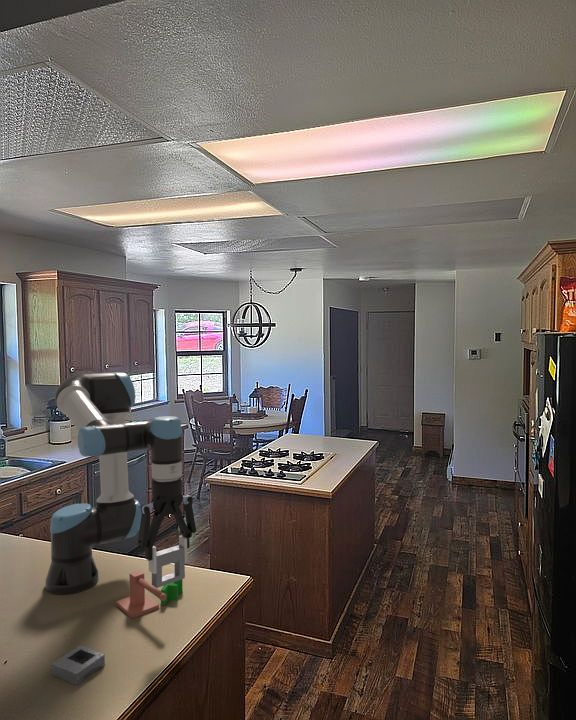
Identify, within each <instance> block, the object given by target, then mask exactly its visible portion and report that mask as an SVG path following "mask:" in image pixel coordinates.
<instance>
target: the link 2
mask: <svg viewBox="0 0 576 720" xmlns="http://www.w3.org/2000/svg"><path fill="white" fill-rule="evenodd" d="M156 562H157V573H156V574H153V573H152V572H151V585H152V586H154V587H155V588H157V589H158V588H162V587H163V586H164V585H167V584H170V583H173V582H176V581H178V580H181V579H182V580H184V579H185V578H186V576H185V575H186V574H185V573H186V569H185V568H186V567H185V565H186V564H185V552H184V547H182V546H181V545H179V544H178V545H174V546H172V547H171V546H170V547H168V548H164V549H162V550H161V549H160V550H158V551H156ZM171 564H174V572H172V573H169V574H166V575H163V567H165V566H167V565H171Z"/></svg>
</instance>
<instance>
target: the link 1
mask: <svg viewBox="0 0 576 720" xmlns="http://www.w3.org/2000/svg"><path fill="white" fill-rule="evenodd" d="M105 658H106V657H105V654H104V653H102V652H99V651H97V650H94V649H92V648H90V647H86V646H83V645H81V644H80V645H78V646H77V647H74V648H73V649H72V650H70V651H68V652H67V653H66V654H63V656H61V657H59V658H57V660H54V661H53V662H51V664H50V672H51V673H50V674H51V676H53V677H56V678H58V679H61V680H63V681H65V682H68V683H71V684H72V685H75V686H78V685H79V684H81V683H82V682H83V681H85V680H86V679H88V678H89V677H90V676H92V675H93V674H94V673H95V672H97V671H99V670H100V669H101V668H102V667H104V666H105V664H106V662H105V661H106V659H105ZM80 661H83V662H84V663H83V664H82V663H80Z"/></svg>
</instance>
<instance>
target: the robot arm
mask: <svg viewBox="0 0 576 720" xmlns="http://www.w3.org/2000/svg"><path fill="white" fill-rule="evenodd" d="M133 382H134V381H133V380H132V379H131V376H129V374H127V373H125V372H114V371H113V372H96V373H95V372H94V373H79V374H75V375H72V376H70V377H68V378H65V379H64V380H63V381H62V382H61V383H60V384H59V385H58V386H57V388H56V391H55V392H54V393H55V394H54V402H55V405H56V408H57V409H58V411H60V413H62V414H64V415H65V416H67V417H68V419H69V420H70V422H71V423H72V424H73V426H75V428H76V430H77V431H78V433H77V447H78V451H79V454H80V455H81V456H83V457H84V458H88V457H95V458H96V457H98V458H99V460H98V461H99V477H100V478H99V479H100V495H99V496H98V498H97V499H96V501H95V502H96V506H93V507H92V505H91V504H89V503H86V502H85V503H84V502H83V503H74V504H70V505H69V504H68V505H67V506H64V507H62V508H59V509H58V510H57V511H55V512H54V513H53V514H52V516H51V518H50V528H49V532H50V557H51V561H50V563H49V564H50V565H49V568H48V572H47V573H46V577H45V590H46V591H47V592H48V593H50V594H53V595H72V594H76V593H80V592H83V591H86V590H88V589H90V588H92V587H94V586H95V585H96V584H97V583H98V582H99V570H98V567H97V565H96V562H95V559H94V557H93V547H94V546H98V545H99V546H100V545H103V544H107V543H111V542H117V541H124V540H126V539H129V538H133V537H134V536H136V535H137V533H138V537H137V545H138V546H140V547H142V548H144V549H145V554H144V555H145V559H146V560H147V561H148V571H149V572H150V573H151V574H152V573H153V574H156V573H157V562H156V552H157V547H156V546H155V542H156V539H157V537H158V534H159V530H160V528H161V524H162V522H164V519H165V517H168V516H170V515H172V516H173V518H174V520H175V522H176V524H177V526H178V529H179V531H180V534H181V535H179V536H178V545H181V546H182V547H184V552H185V565H186V564H188V549H189V548H190V538H192V537H193V534H195V533H196V532H197V526H196V521H195V514H194V509H193V501H194V500H193V499H194V497H193V496H191V495H189V494H184V495H183V493H182V492H183V478H182V476H183V470H182V469H183V464H182V463H183V461H182V459H183V458H182V454H183V453H182V452H183V450H182V443H183V441H182V440H183V429H182V421H181V418H179V417H178V416H171V415H169V416H168V415H166V416H165V415H164V416H163V415H162V416H156V417H153V418H149V419H148V418H145V419H144V418H143V419H140V420H138V421H134V422H126V417H127V416H128V415H129V414H130V408H132V407H133V406H135V403H136V390H135V386H134V383H133ZM144 450H150V456H151V459H150V460H151V478H152V480H151V495H152V498H151V502H150V503H148V504H146V505H145V504H142V505H141V503H140V502H139V500H138V499H135V495H134V494H133V493H132V492H131V491H130V490H129V469H128V467H129V466H128V453H130V452H131V453H132V452H137V451H144ZM181 505H183V512H184V516H185V519H184V516H183V512H182V510H181V508H180V506H181ZM152 509H153V510H154V512H153V510H152ZM152 512H153V514H152ZM151 514H152V517H151ZM151 518H152V520H151Z"/></svg>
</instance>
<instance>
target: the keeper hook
mask: <svg viewBox="0 0 576 720" xmlns="http://www.w3.org/2000/svg"><path fill="white" fill-rule="evenodd" d="M128 574H129V596H126V597H125V598H121V599H119V600H116V601H115V605H116V607H118V608H119V609H120V610H121V611H122V612H124V613H125V614H126V615H127V616H128V617H130V618H131V619H135V618H138V617H140V616H143V615H146V614H148V613H150V612H152V611H155V610H156V611H157V610H158V609H159V608H160V604H159V603H158V602H156V601H155V600H153V599H152V598H151V597H149V596H148V595H147V594H146V593H145V592H146V591H145V590H147V591H148V592H149V593H150V594H153V596H155V597H156V598H158V599H159V600H160V602H161V601H164V600H165V599H166V597H167V596H166V594H164V593H162V592H161V589H158V588H156V587H154V586H153V585H152V583H150V582H148V581H147V580H145V573H144V572H143V571H141V569H138V570H135V571H133V572H129V573H128Z"/></svg>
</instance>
